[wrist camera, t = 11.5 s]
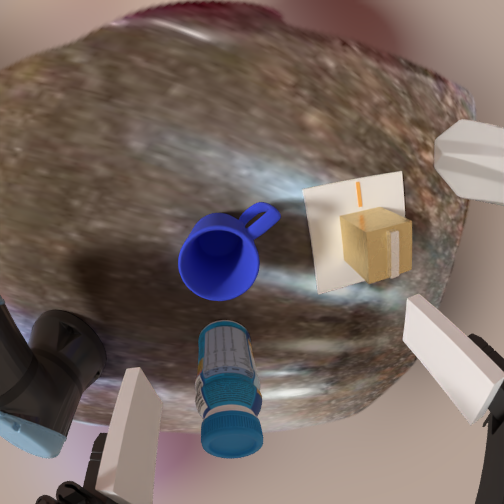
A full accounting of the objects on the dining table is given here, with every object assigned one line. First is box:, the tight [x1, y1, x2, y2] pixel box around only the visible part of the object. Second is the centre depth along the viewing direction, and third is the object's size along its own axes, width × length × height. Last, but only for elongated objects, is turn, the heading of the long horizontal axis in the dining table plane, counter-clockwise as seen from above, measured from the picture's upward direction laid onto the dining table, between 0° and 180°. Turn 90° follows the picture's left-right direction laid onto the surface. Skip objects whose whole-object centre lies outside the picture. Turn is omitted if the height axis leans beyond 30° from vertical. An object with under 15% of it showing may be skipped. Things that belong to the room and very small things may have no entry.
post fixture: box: [302, 171, 405, 294], centre depth 37 cm, size 16×16×6 cm
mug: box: [178, 202, 281, 301], centre depth 33 cm, size 8×12×10 cm
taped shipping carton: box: [339, 207, 412, 284], centre depth 35 cm, size 7×7×9 cm
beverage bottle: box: [195, 320, 263, 458], centre depth 34 cm, size 8×8×20 cm
